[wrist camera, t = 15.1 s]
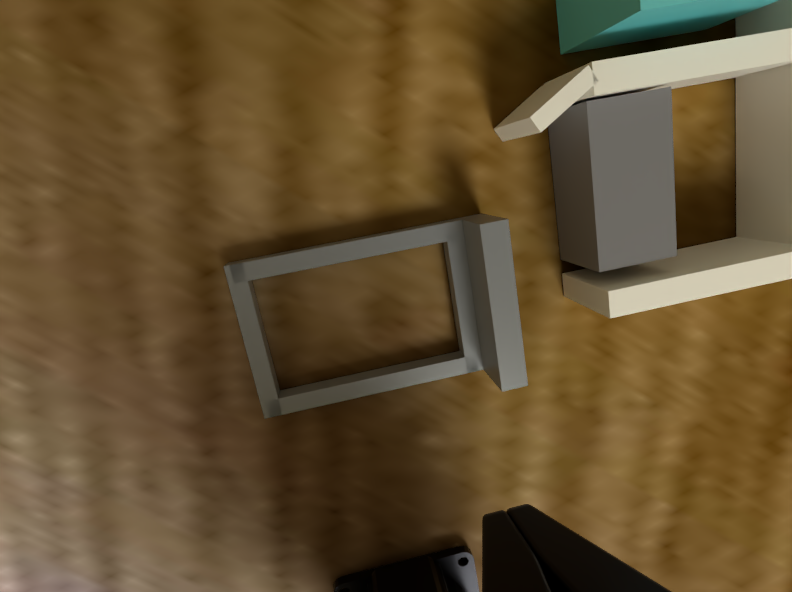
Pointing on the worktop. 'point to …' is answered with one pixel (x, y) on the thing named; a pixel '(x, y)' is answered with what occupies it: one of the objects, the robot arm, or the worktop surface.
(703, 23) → the plug
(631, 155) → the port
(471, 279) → the grey rectangular frame stand
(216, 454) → the worktop surface
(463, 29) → the worktop surface
